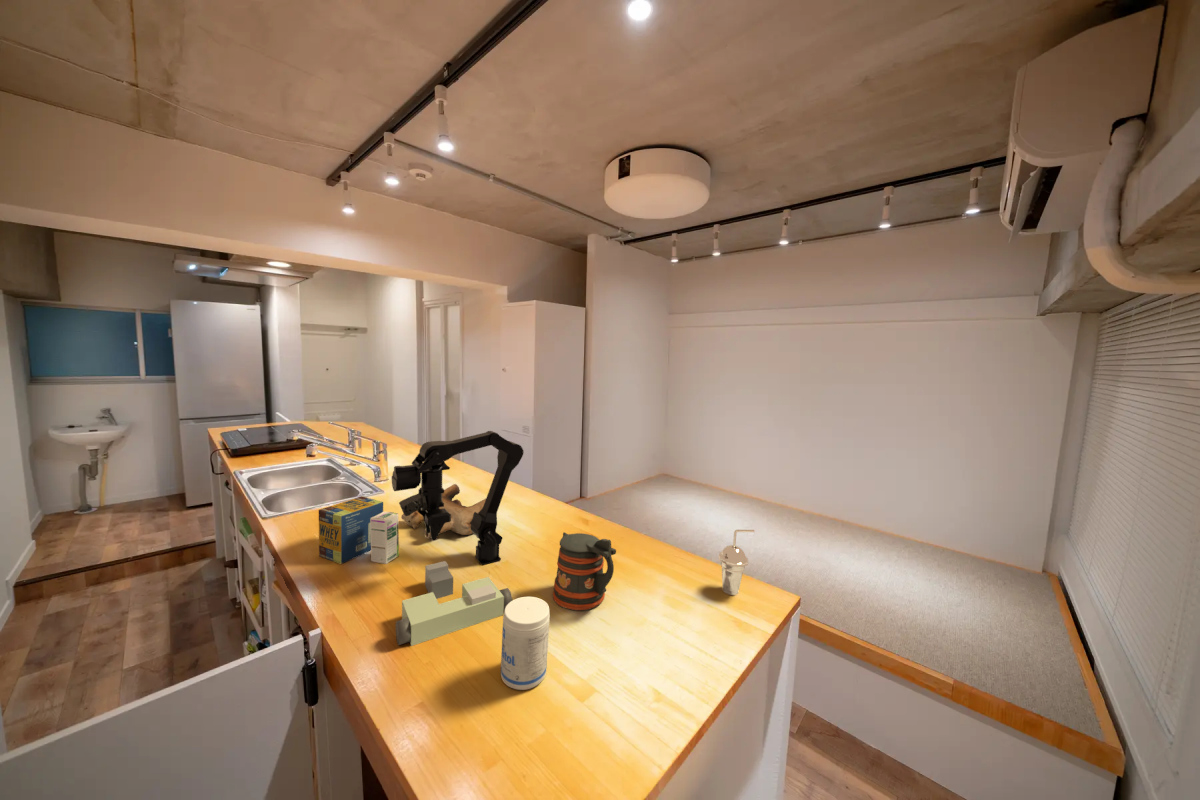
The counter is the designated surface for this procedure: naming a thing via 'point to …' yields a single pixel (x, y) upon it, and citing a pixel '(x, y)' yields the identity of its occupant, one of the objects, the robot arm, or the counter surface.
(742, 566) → the cup with straw
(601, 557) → the beer stein
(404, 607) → the green roller block
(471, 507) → the tan knobby branched lump
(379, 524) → the syrup box
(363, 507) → the protein box
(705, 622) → the counter surface
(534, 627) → the supplement tub
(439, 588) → the grey stepped block
